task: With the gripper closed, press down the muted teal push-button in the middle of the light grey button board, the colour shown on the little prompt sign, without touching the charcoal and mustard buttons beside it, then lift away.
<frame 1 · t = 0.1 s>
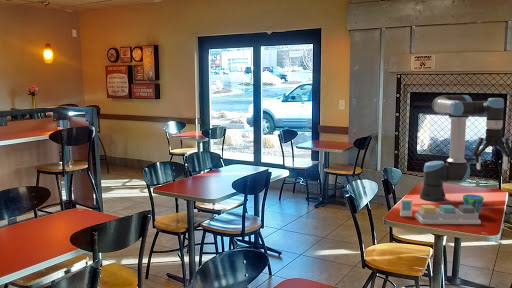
hand: (491, 169, 244), 28 cm above the table, tool pointing down, fingers open, 13 cm apart
mustard button: (428, 210, 249), point 6 cm above the table, slide at 0.0 cm
teal button: (447, 210, 249), point 6 cm above the table, slide at 0.0 cm
snack cup: (472, 214, 260), on the table
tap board: (446, 220, 249), on the table
charcoal button: (466, 210, 248), point 6 cm above the table, slide at 0.0 cm
prompt sign: (406, 215, 259), on the table
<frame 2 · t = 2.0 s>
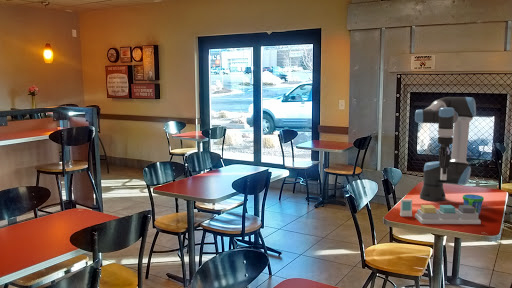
hand: (443, 179, 254), 20 cm above the table, tool pointing down, fingers closed
nothing on the table moved.
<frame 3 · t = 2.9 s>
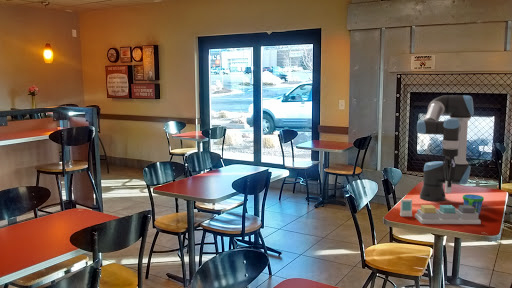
hand: (448, 192, 247), 15 cm above the table, tool pointing down, fingers closed
nothing on the table moved.
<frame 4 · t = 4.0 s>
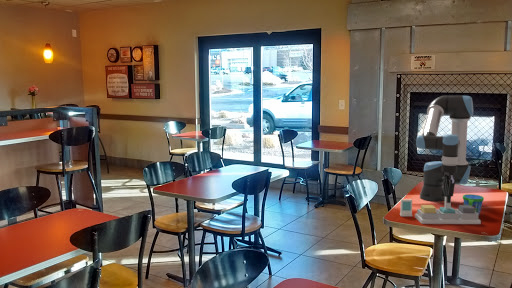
hand: (447, 208, 248), 7 cm above the table, tool pointing down, fingers closed
teal button: (447, 212, 249), point 4 cm above the table, slide at 1.2 cm, touching gripper
everything else where it was.
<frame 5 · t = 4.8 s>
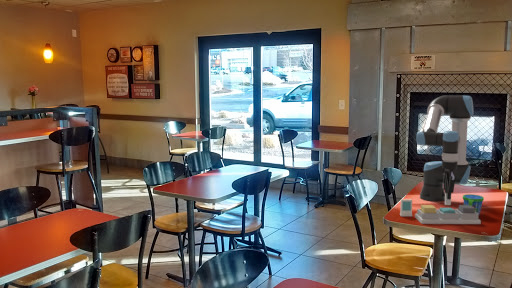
hand: (447, 204, 248), 9 cm above the table, tool pointing down, fingers closed
teal button: (447, 212, 249), point 4 cm above the table, slide at 1.4 cm
everything else where it was.
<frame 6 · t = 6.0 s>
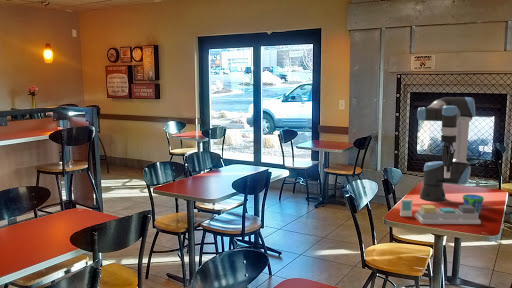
hand: (447, 177, 255), 21 cm above the table, tool pointing down, fingers closed
nothing on the table moved.
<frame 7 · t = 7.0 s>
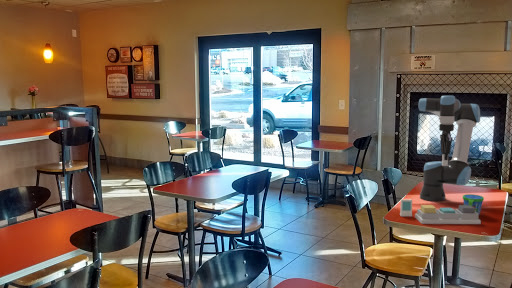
hand: (444, 165, 263), 26 cm above the table, tool pointing down, fingers closed
nothing on the table moved.
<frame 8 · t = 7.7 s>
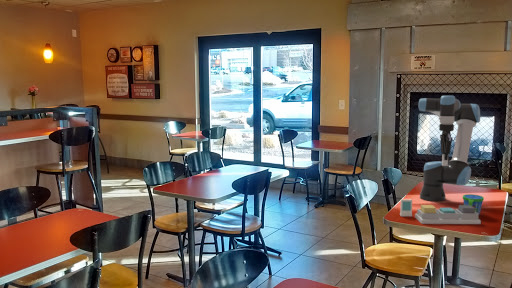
hand: (444, 165, 263), 26 cm above the table, tool pointing down, fingers closed
nothing on the table moved.
at the end: teal button slide at 1.4 cm; charcoal button slide at 0.0 cm; mustard button slide at 0.0 cm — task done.
